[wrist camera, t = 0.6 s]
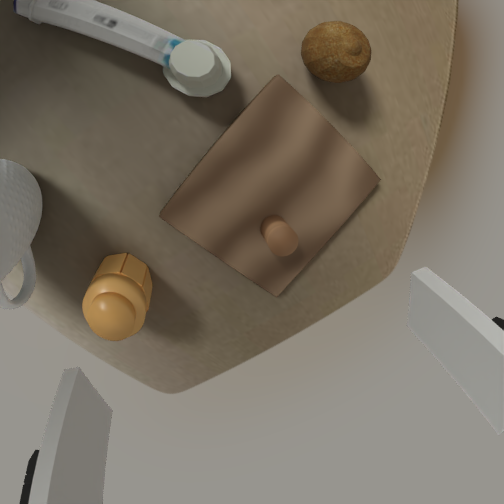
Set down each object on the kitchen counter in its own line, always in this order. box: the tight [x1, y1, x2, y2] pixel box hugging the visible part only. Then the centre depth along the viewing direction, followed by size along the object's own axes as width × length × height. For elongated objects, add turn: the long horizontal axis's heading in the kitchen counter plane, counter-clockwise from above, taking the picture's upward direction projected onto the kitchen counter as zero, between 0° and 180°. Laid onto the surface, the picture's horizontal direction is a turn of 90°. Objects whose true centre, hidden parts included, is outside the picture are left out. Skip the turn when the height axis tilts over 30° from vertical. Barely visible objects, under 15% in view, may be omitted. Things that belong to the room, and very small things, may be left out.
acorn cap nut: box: [82, 253, 153, 341], centre depth 30 cm, size 6×6×8 cm
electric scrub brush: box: [13, 0, 231, 97], centre depth 21 cm, size 5×7×25 cm
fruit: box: [301, 21, 371, 83], centre depth 24 cm, size 6×6×8 cm
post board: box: [159, 74, 381, 297], centre depth 30 cm, size 16×18×6 cm
